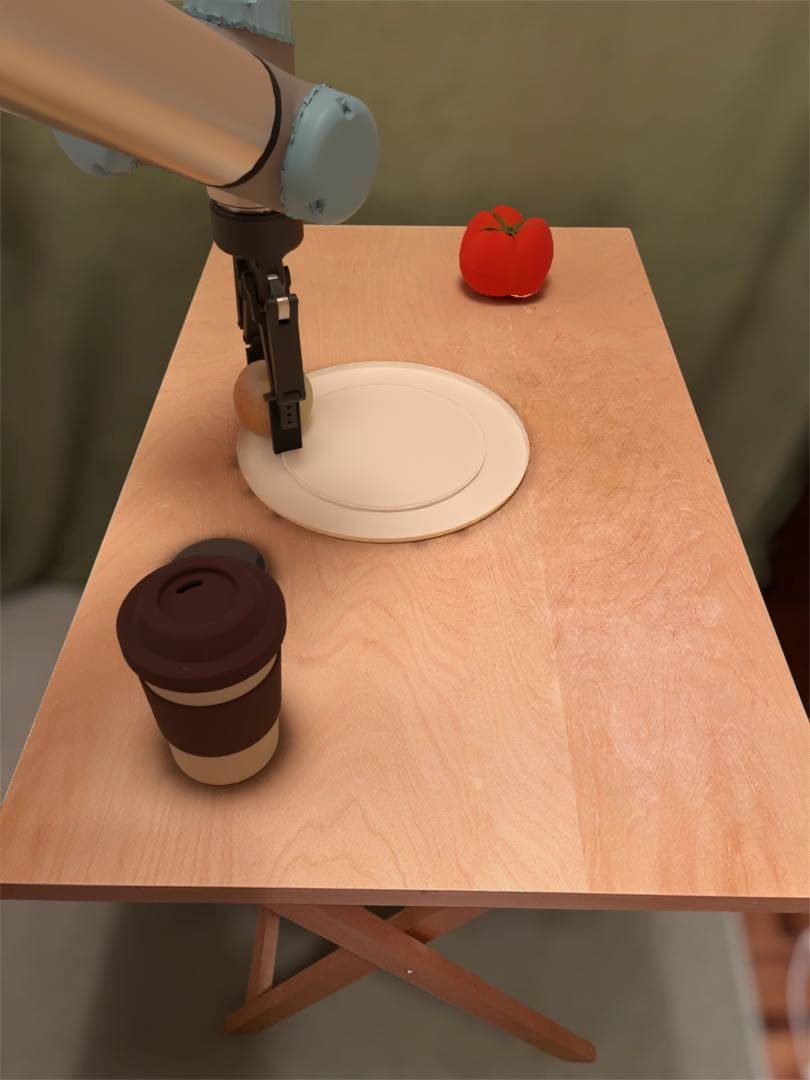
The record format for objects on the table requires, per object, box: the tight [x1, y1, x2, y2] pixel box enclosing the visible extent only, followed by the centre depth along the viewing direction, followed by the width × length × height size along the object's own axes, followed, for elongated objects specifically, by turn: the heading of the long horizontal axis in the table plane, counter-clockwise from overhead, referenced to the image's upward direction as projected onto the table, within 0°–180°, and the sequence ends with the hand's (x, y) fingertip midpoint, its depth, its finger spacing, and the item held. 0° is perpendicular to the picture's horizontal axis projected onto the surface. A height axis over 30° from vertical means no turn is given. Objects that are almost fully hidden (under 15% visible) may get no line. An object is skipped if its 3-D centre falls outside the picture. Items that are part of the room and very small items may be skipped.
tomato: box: [458, 204, 555, 299], centre depth 109 cm, size 11×12×9 cm
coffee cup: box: [115, 555, 288, 786], centre depth 58 cm, size 10×10×15 cm
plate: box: [236, 360, 530, 543], centre depth 88 cm, size 28×28×1 cm
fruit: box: [232, 360, 313, 437], centre depth 87 cm, size 8×7×8 cm
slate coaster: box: [170, 537, 267, 572], centre depth 75 cm, size 8×8×1 cm
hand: (276, 425), depth 89 cm, fingers closed on fruit, 7 cm apart
